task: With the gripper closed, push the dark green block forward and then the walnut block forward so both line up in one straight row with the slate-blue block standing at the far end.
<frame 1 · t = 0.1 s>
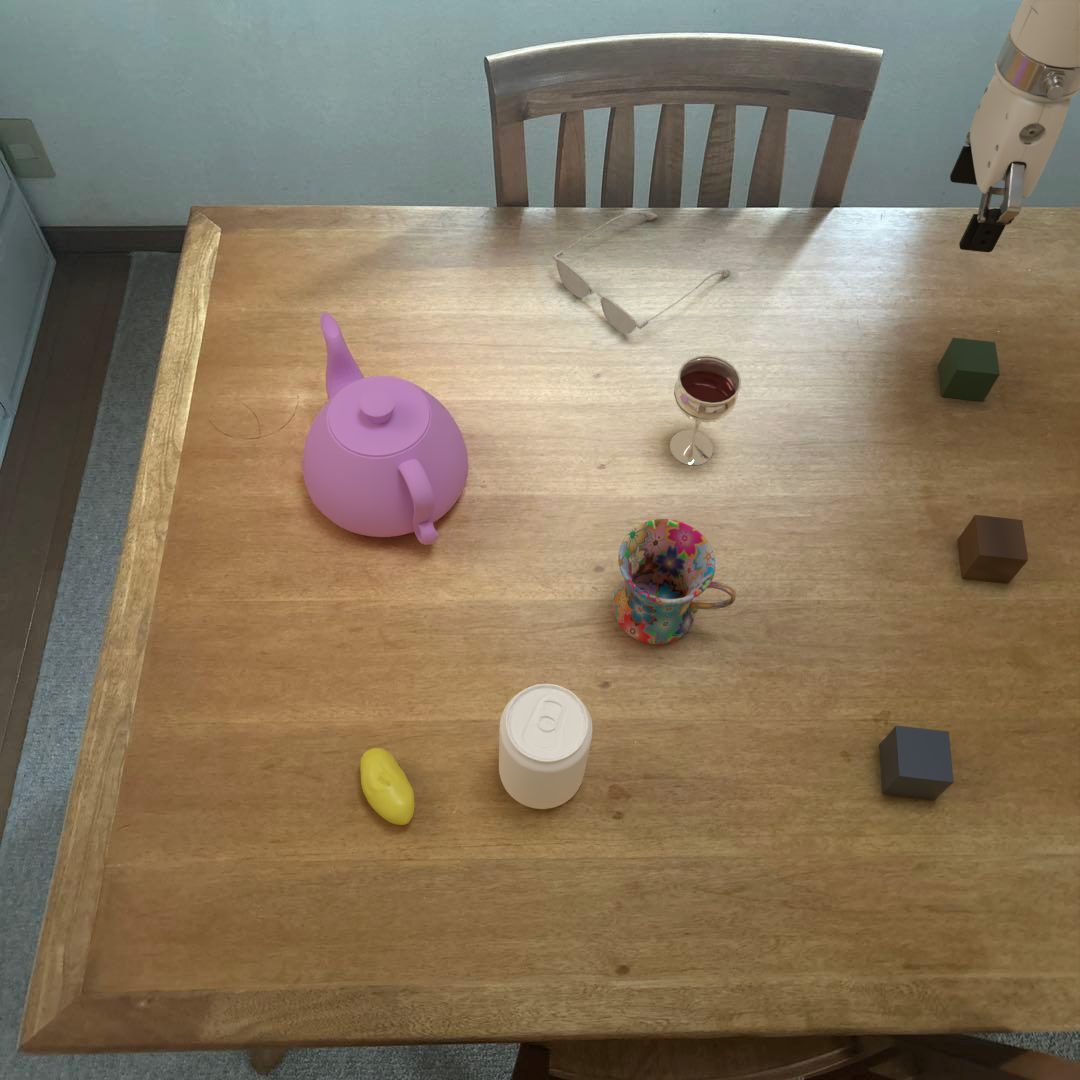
hand: (969, 214, 108), 26 cm above the table, tool pointing down, fingers open, 9 cm apart
wineglass: (691, 448, 124), on the table
eyeglasses: (643, 278, 137), on the table
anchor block: (906, 771, 104), on the table
teapot: (383, 472, 120), on the table
beverage can: (541, 770, 103), on the table
green block: (960, 383, 130), on the table
yellow potato: (388, 793, 101), on the table
walnut block: (982, 561, 117), on the table
mug: (664, 616, 112), on the table
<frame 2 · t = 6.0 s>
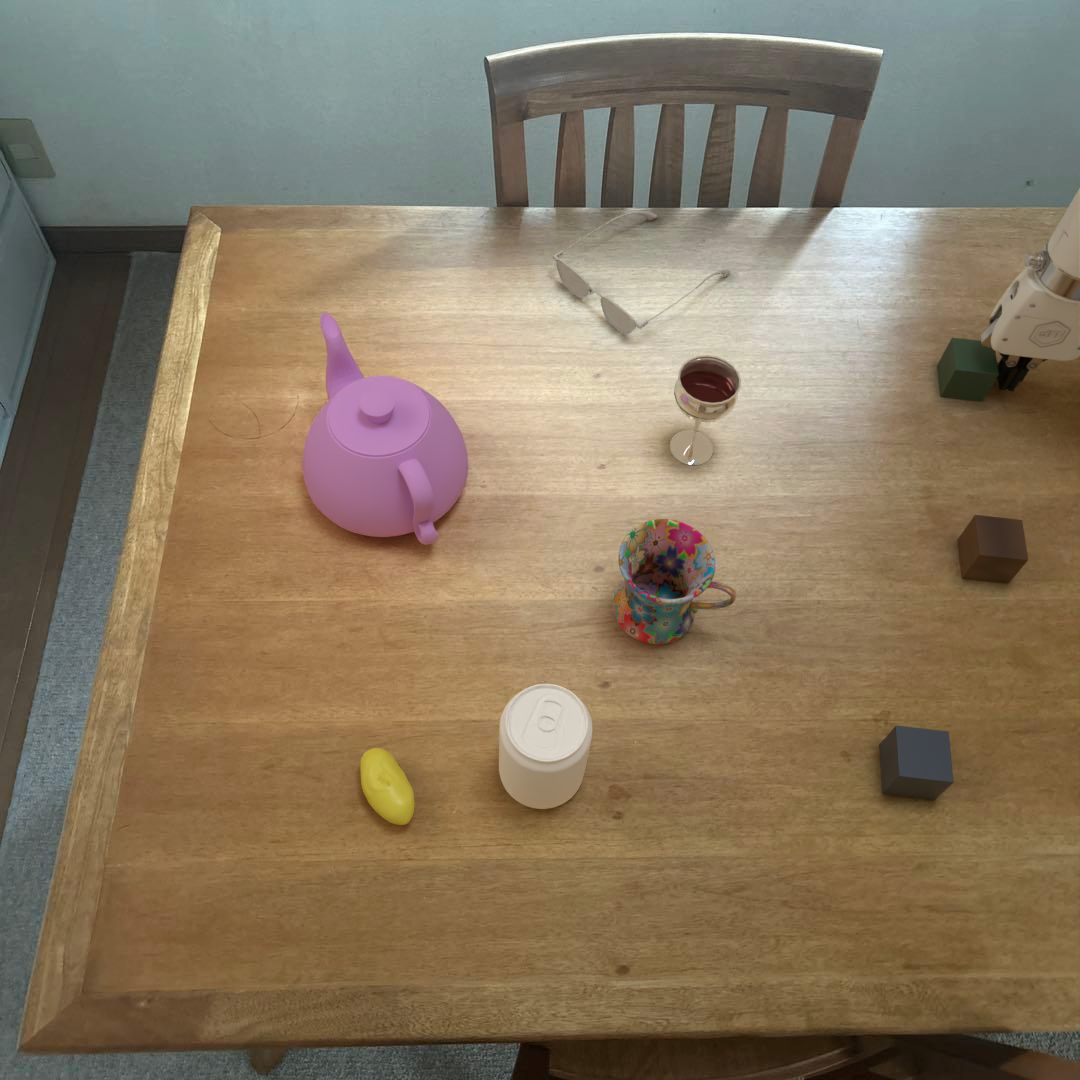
hand: (1004, 381, 129), 1 cm above the table, tool pointing down, fingers closed
green block: (959, 383, 130), on the table, touching gripper
everything else where it was.
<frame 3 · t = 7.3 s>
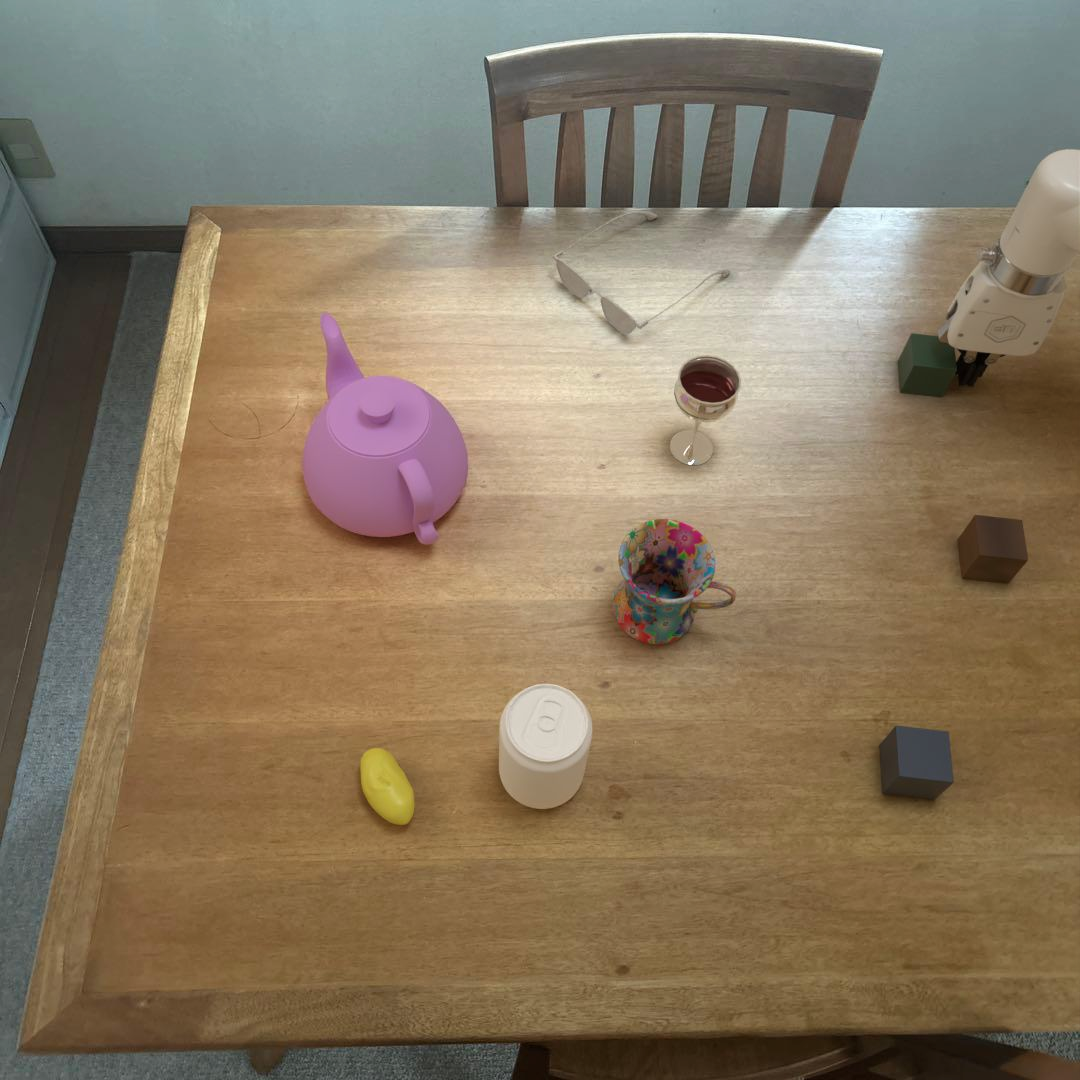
hand: (964, 377, 129), 1 cm above the table, tool pointing down, fingers closed
green block: (919, 379, 130), on the table, touching gripper
everything else where it was.
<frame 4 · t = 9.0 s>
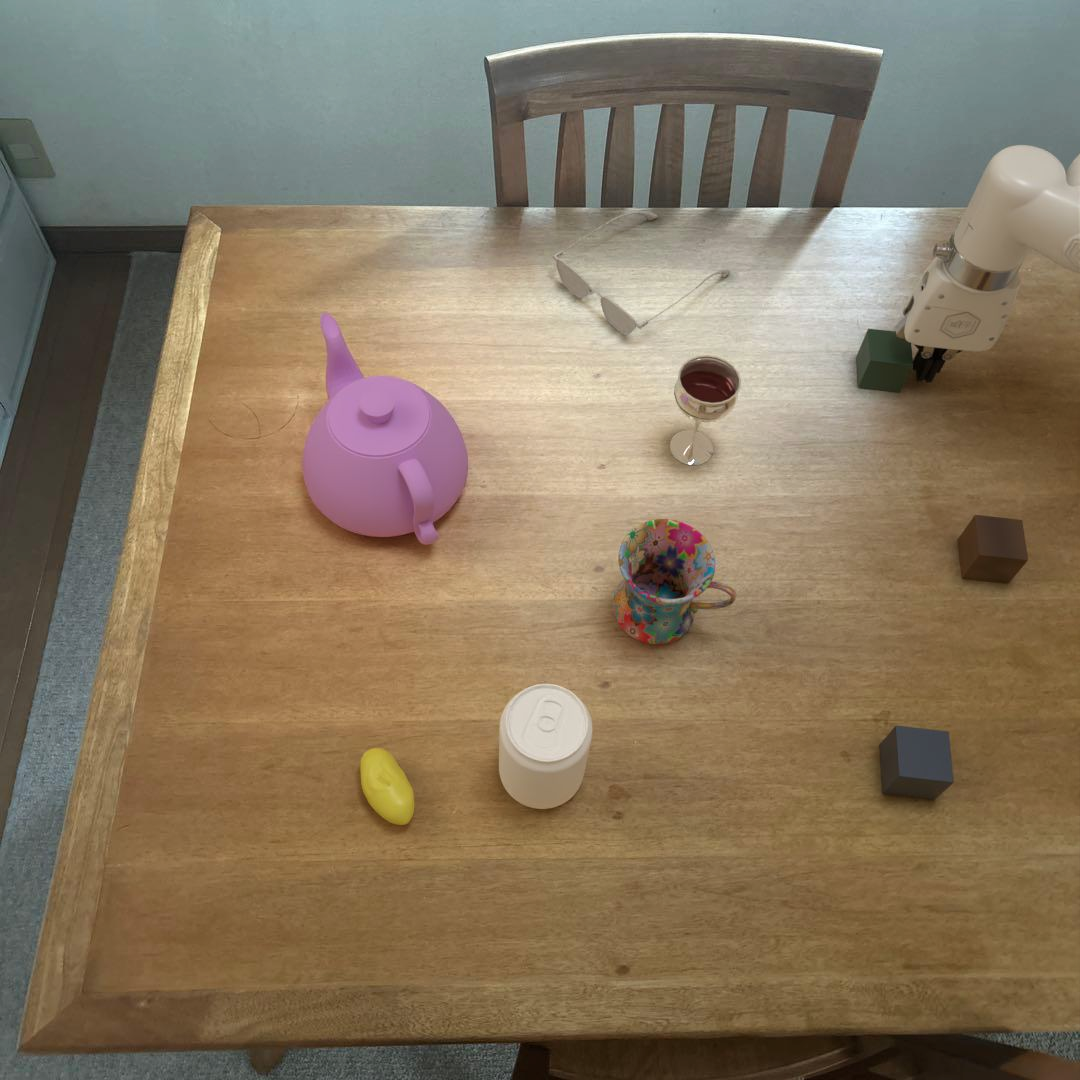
hand: (922, 372, 129), 1 cm above the table, tool pointing down, fingers closed
green block: (877, 374, 130), on the table
everything else where it was.
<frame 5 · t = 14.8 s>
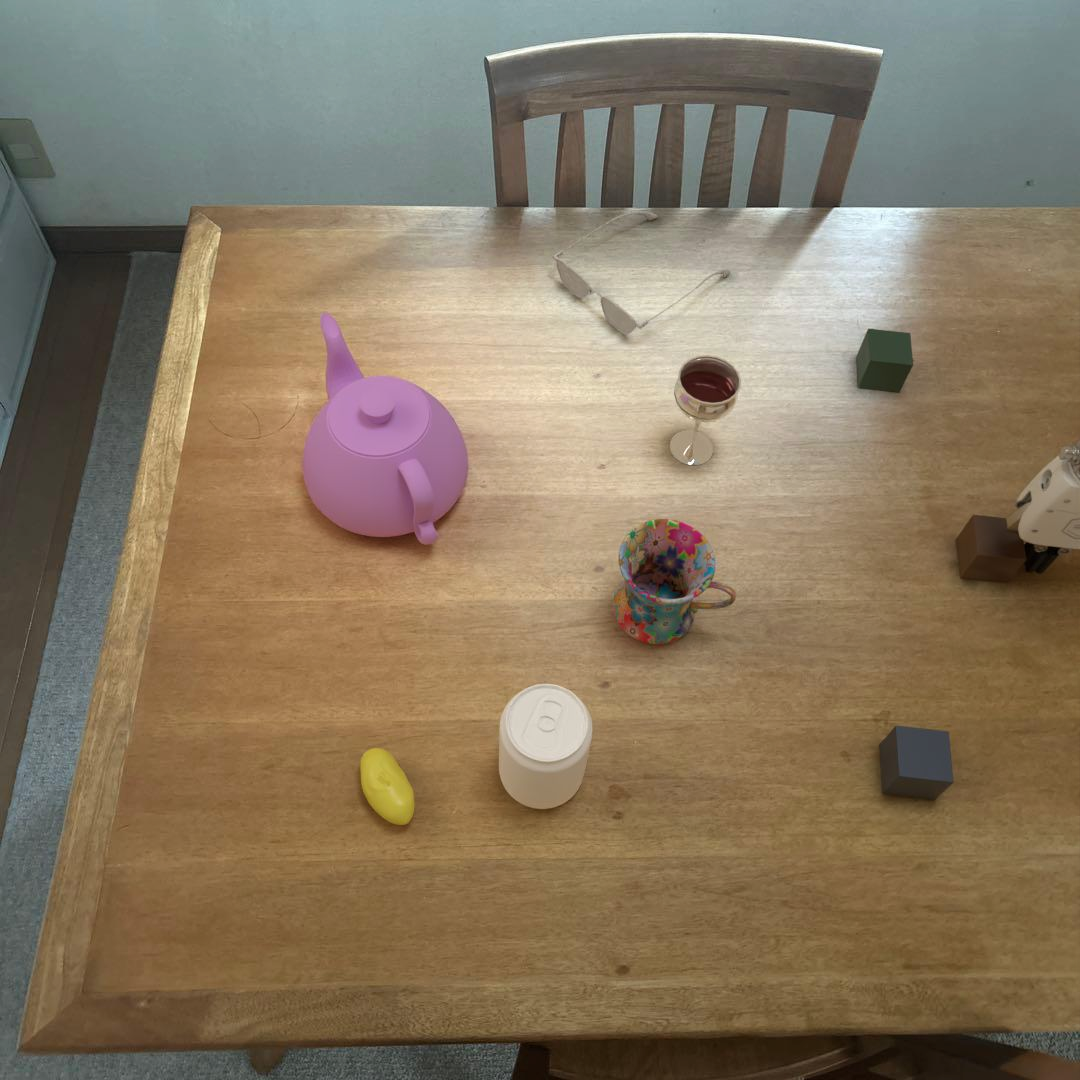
hand: (1031, 561, 116), 1 cm above the table, tool pointing down, fingers closed
walnut block: (980, 561, 117), on the table, touching gripper
everything else where it was.
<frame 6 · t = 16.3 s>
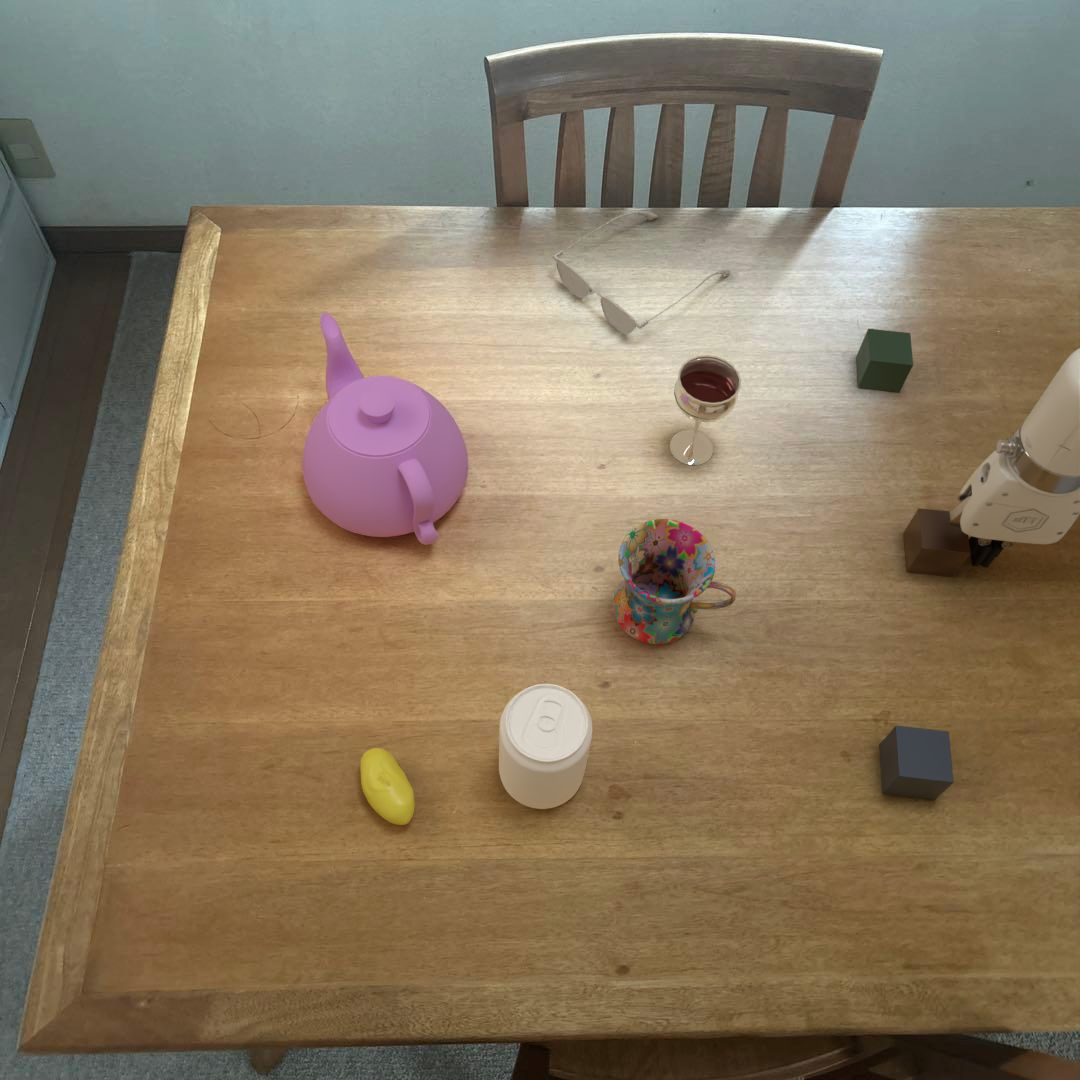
hand: (977, 555, 116), 1 cm above the table, tool pointing down, fingers closed
walnut block: (927, 554, 117), on the table, touching gripper
everything else where it was.
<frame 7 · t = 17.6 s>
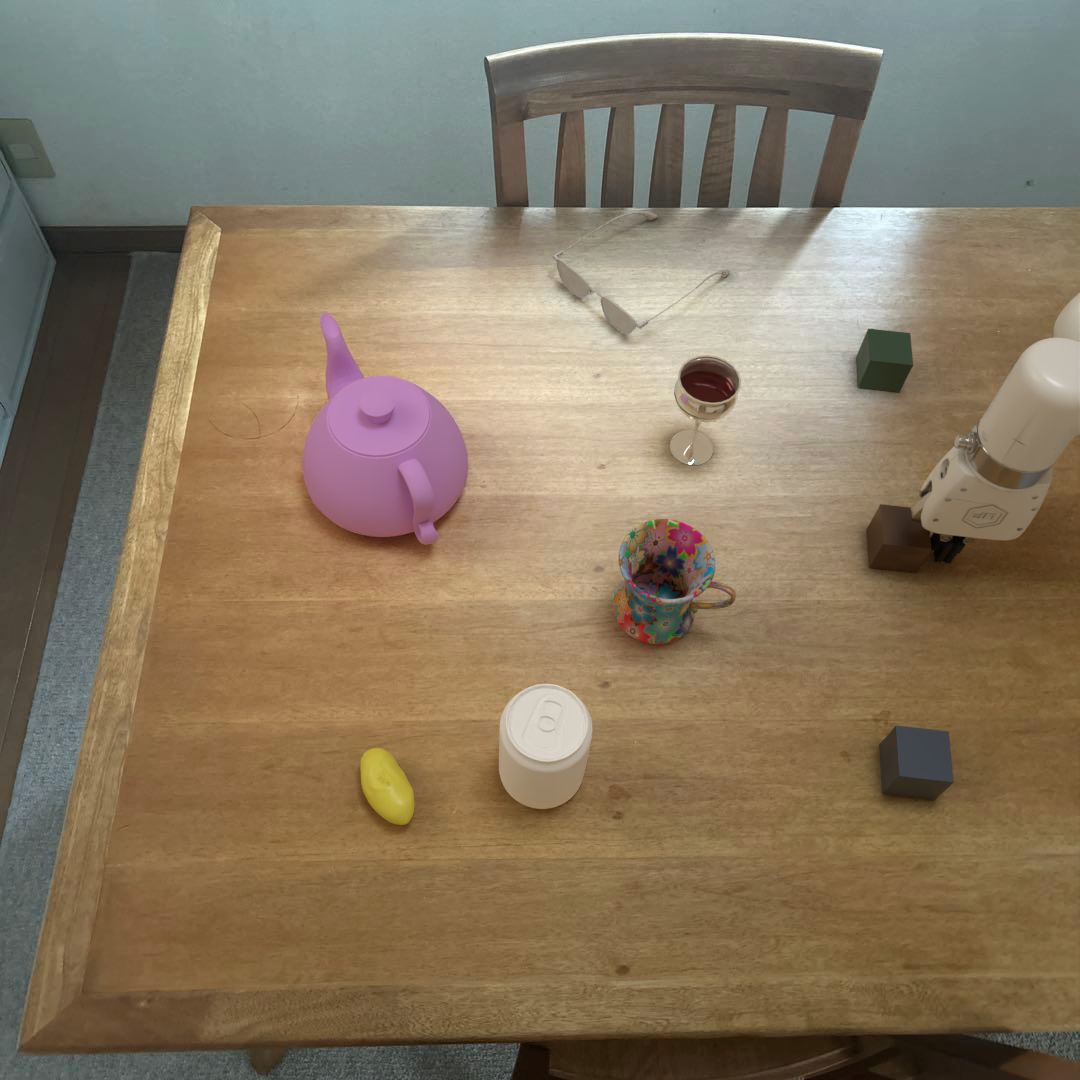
hand: (940, 551, 116), 1 cm above the table, tool pointing down, fingers closed
walnut block: (890, 550, 117), on the table, touching gripper
everything else where it was.
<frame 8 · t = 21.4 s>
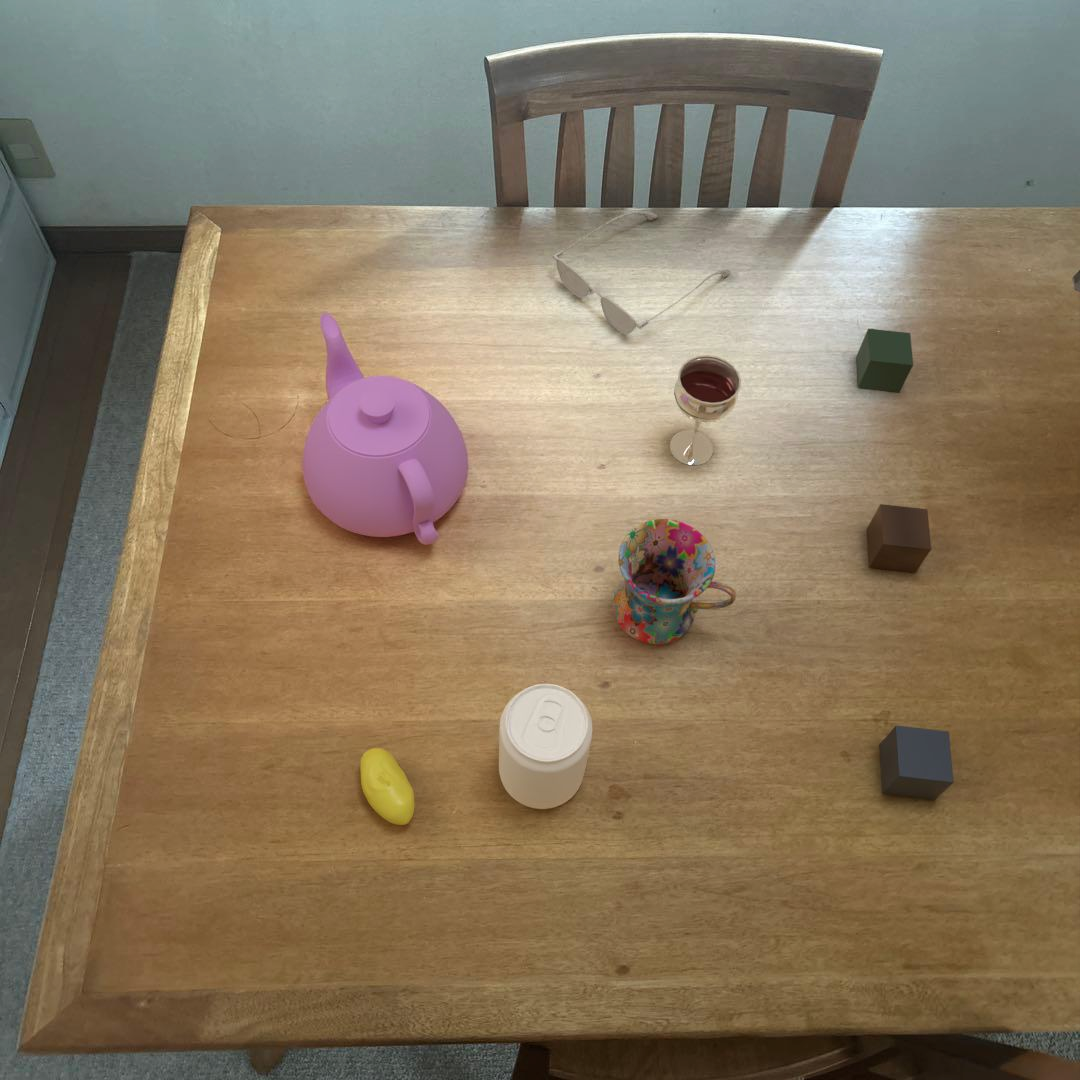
walnut block: (890, 550, 117), on the table
everything else where it was.
at the end: green block 0.0 cm from the target spot on the table beside the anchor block, on the table; walnut block 0.0 cm from the target spot on the table beside the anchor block, on the table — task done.
